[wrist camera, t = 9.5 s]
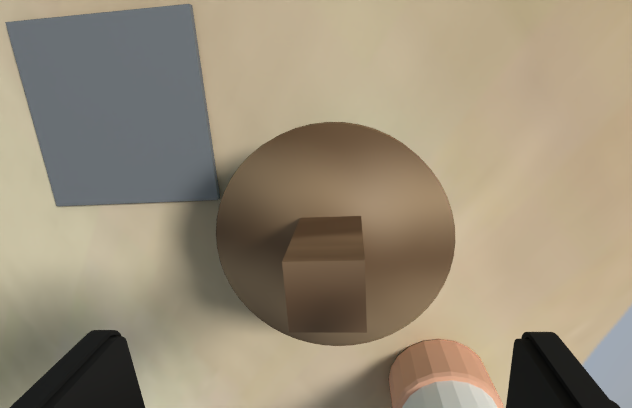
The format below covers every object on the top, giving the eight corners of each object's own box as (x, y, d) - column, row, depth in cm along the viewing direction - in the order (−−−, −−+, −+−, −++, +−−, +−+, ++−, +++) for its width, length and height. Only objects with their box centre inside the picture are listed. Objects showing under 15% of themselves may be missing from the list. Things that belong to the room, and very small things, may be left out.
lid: (207, 129, 18) (140, 144, 12) (454, 114, 17) (508, 124, 11) (237, 334, 21) (196, 420, 16) (445, 334, 20) (482, 429, 14)
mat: (11, 23, 23) (5, 22, 23) (191, 5, 22) (189, 3, 21) (61, 204, 26) (56, 206, 26) (220, 198, 25) (218, 199, 25)
